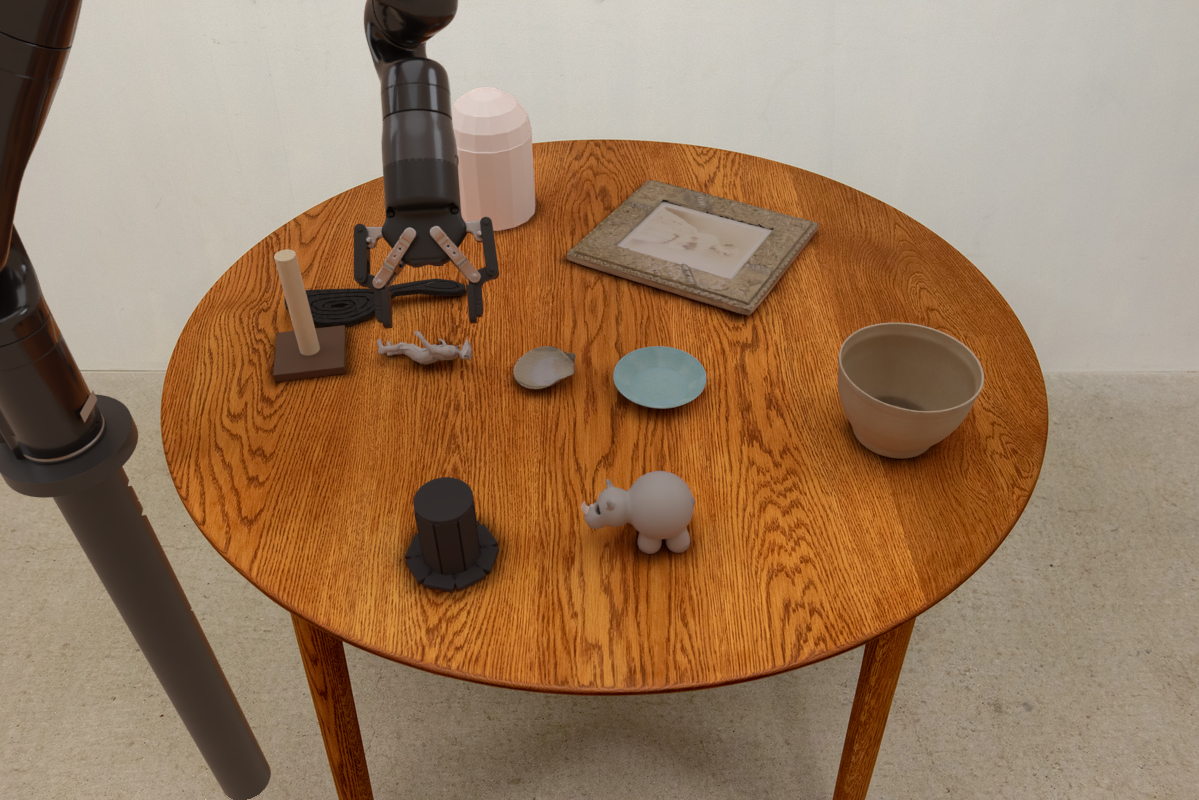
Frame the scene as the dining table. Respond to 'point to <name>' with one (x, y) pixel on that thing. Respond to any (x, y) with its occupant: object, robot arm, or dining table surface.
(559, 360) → the seashell
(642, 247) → the picture frame
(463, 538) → the hat
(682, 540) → the round bodied animal figurine
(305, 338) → the stand
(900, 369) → the planter bowl
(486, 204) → the container
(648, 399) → the saucer
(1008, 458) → the dining table surface
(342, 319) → the hairbrush
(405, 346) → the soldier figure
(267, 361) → the dining table surface
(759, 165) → the dining table surface
